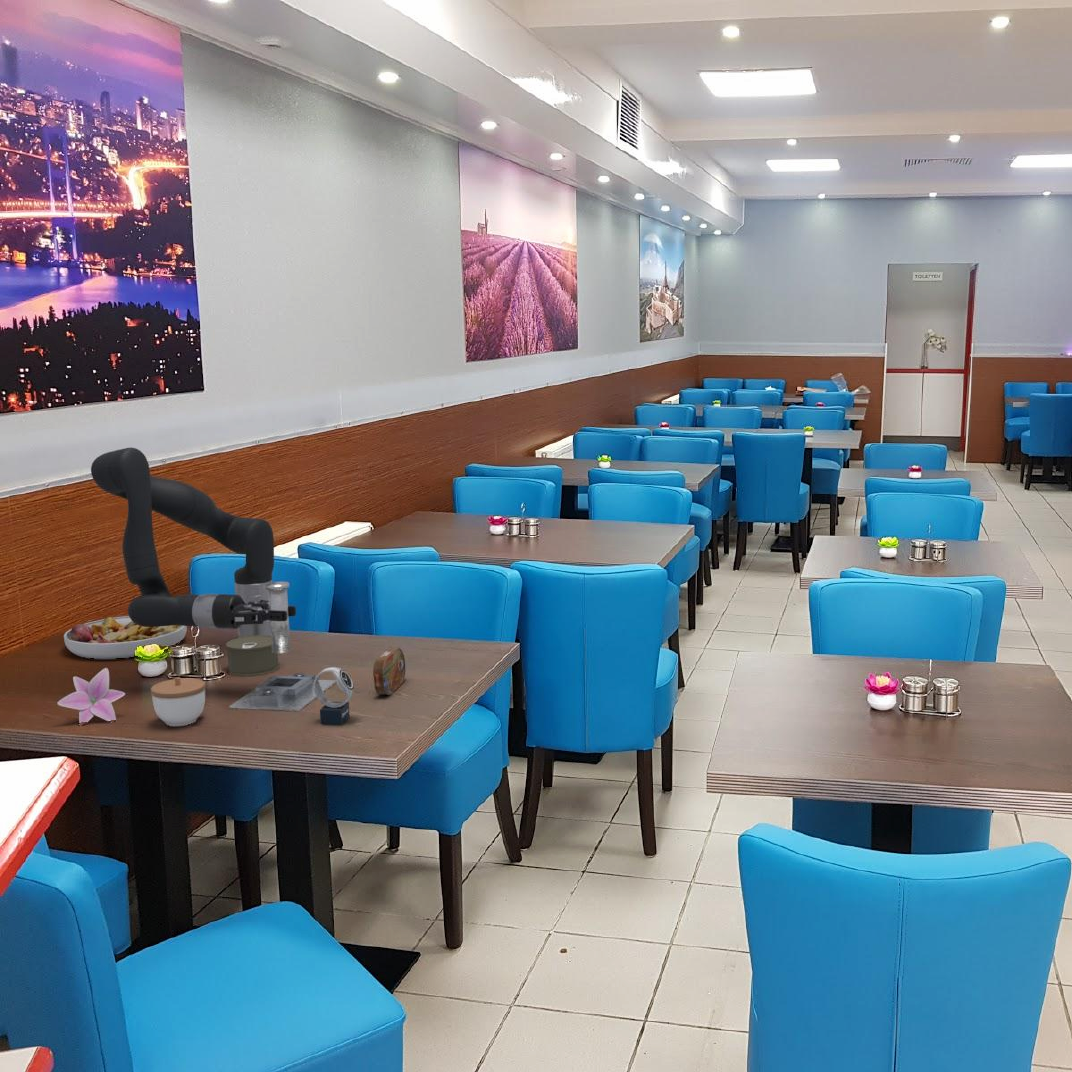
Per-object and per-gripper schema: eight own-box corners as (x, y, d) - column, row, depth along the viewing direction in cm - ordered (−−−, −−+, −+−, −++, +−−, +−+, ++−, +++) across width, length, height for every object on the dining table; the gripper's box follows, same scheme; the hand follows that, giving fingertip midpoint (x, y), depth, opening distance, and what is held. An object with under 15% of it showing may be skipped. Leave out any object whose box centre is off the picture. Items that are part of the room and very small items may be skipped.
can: (284, 662, 285) (283, 634, 284) (272, 676, 273) (270, 647, 272) (235, 663, 285) (233, 635, 284) (221, 677, 273) (219, 649, 272)
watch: (350, 725, 237) (347, 672, 235) (312, 724, 238) (309, 672, 236) (358, 716, 242) (355, 665, 240) (321, 715, 243) (318, 664, 241)
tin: (386, 700, 253) (383, 662, 251) (372, 699, 253) (370, 661, 252) (407, 679, 267) (405, 643, 266) (394, 679, 268) (392, 643, 266)
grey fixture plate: (271, 679, 270) (270, 665, 269) (336, 682, 267) (335, 667, 266) (229, 708, 250) (228, 692, 249) (299, 711, 246) (298, 695, 246)
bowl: (161, 626, 324) (159, 599, 323) (206, 647, 302) (204, 617, 300) (49, 647, 306) (46, 618, 305) (89, 670, 283) (86, 639, 282)
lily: (51, 730, 242) (53, 696, 237) (76, 692, 252) (78, 660, 247) (108, 745, 243) (111, 712, 238) (131, 707, 253) (134, 675, 247)
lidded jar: (175, 733, 235) (171, 688, 233) (143, 724, 241) (139, 680, 239) (218, 719, 243) (215, 675, 241) (186, 710, 249) (183, 667, 248)
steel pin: (275, 647, 259) (271, 581, 257) (296, 648, 258) (292, 581, 256) (265, 653, 255) (261, 586, 252) (287, 654, 253) (283, 586, 251)
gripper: (201, 601, 251) (276, 604, 247) (232, 587, 264) (303, 589, 261) (203, 635, 252) (278, 638, 248) (234, 620, 266) (305, 622, 262)
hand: (290, 613), depth 254 cm, fingers closed on steel pin, 4 cm apart
